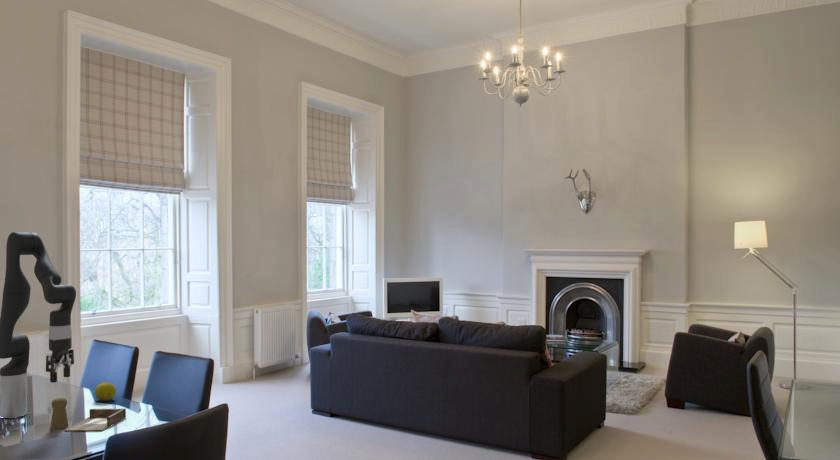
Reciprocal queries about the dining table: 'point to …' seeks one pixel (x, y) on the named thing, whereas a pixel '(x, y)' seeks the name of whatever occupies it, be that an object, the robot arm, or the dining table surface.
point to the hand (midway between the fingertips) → (60, 379)
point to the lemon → (105, 391)
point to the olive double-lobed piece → (59, 414)
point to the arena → (98, 420)
